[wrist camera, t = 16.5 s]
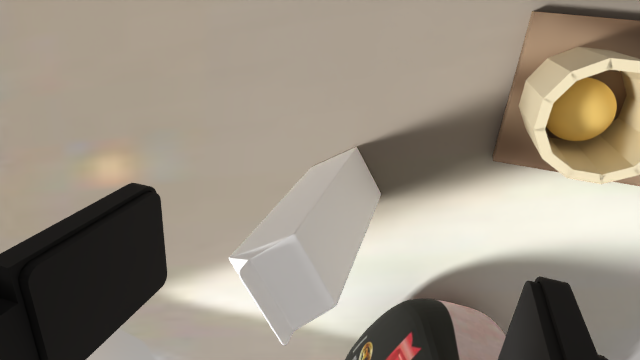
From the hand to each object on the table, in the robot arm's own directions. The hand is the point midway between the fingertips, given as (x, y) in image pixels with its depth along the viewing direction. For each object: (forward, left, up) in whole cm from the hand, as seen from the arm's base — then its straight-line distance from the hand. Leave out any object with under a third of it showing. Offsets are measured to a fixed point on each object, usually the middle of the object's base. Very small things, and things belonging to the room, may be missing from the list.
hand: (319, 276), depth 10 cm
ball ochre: (0, +13, -29) cm, 31 cm away
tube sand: (0, +13, -31) cm, 34 cm away
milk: (+12, -6, -32) cm, 35 cm away
